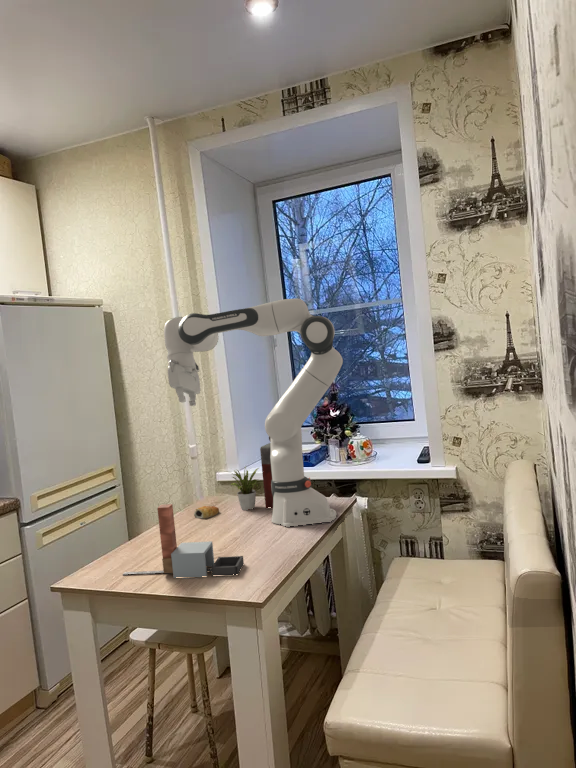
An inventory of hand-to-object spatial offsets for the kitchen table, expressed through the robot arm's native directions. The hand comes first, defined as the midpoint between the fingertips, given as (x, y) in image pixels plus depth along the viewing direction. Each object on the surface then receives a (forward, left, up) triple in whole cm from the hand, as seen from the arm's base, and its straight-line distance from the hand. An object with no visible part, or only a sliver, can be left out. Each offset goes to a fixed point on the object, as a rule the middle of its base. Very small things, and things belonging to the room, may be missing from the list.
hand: (187, 403), depth 201 cm
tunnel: (-9, +38, -43) cm, 58 cm away
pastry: (+3, -17, -44) cm, 47 cm away
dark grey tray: (-18, +38, -43) cm, 60 cm away
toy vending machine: (-24, -26, -43) cm, 56 cm away
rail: (-1, +38, -43) cm, 57 cm away
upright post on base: (-6, +38, -42) cm, 57 cm away
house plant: (-10, -23, -43) cm, 50 cm away
